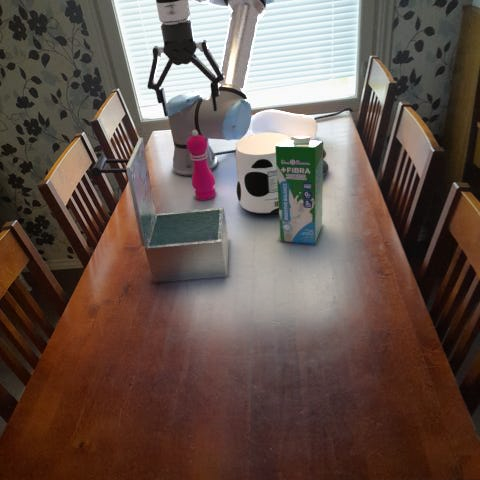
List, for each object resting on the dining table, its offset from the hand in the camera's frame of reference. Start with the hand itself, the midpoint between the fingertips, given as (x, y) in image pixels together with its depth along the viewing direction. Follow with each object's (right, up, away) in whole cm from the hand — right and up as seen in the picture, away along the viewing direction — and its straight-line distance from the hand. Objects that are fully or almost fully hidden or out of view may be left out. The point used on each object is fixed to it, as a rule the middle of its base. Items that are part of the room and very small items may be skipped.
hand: (191, 112), depth 124 cm
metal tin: (+2, -42, -9) cm, 43 cm away
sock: (+29, +8, +42) cm, 52 cm away
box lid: (-8, -28, -22) cm, 36 cm away
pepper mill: (+3, -18, +17) cm, 25 cm away
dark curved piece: (+32, -10, +21) cm, 40 cm away
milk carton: (+30, -34, -5) cm, 46 cm away
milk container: (+22, -23, +8) cm, 33 cm away
